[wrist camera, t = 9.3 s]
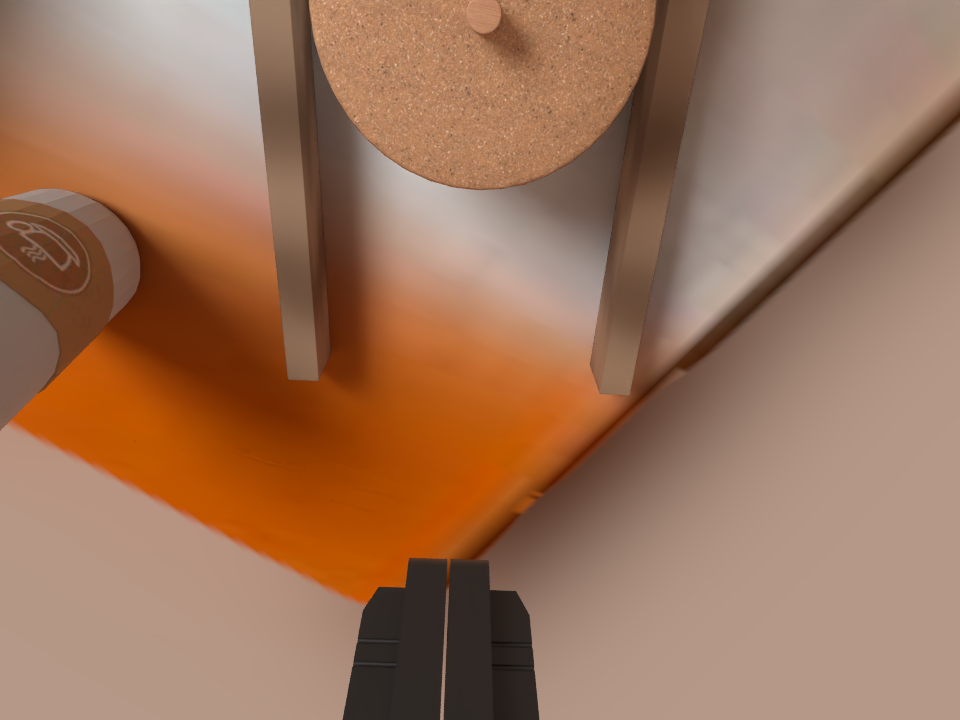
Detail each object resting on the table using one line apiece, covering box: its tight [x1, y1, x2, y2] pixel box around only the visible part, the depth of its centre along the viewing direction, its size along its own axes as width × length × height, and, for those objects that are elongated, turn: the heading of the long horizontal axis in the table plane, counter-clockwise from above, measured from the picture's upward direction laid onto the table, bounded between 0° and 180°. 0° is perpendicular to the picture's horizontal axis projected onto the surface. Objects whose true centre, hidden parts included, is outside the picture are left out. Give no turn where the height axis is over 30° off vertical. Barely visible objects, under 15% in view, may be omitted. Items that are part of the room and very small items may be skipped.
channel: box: [249, 0, 710, 395], centre depth 26 cm, size 25×17×4 cm
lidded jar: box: [309, 0, 657, 190], centre depth 22 cm, size 11×11×9 cm
